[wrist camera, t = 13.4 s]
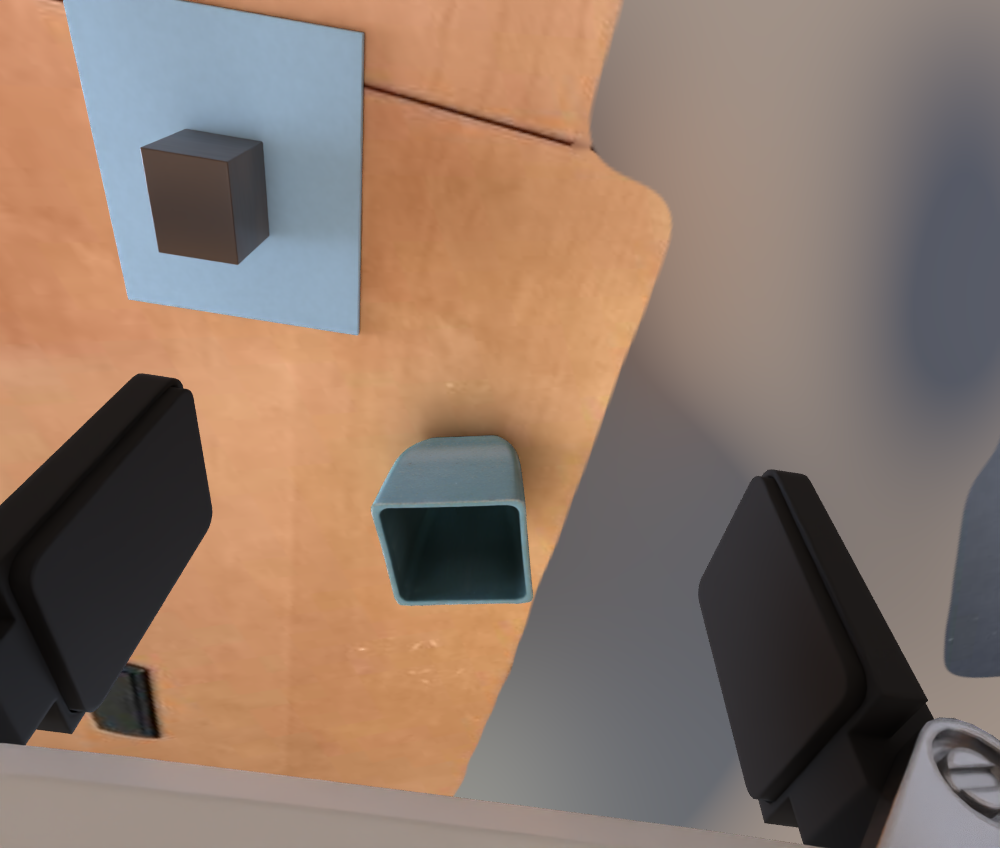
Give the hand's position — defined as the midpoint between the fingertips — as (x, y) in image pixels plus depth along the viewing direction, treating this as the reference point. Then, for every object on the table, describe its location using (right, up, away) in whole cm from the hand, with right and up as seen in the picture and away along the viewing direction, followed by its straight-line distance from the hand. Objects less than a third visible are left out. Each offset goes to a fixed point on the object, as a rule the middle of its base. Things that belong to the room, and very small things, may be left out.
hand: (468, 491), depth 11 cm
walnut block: (-14, +14, +23) cm, 30 cm away
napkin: (-14, +14, +23) cm, 31 cm away
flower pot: (-2, -1, +34) cm, 34 cm away
